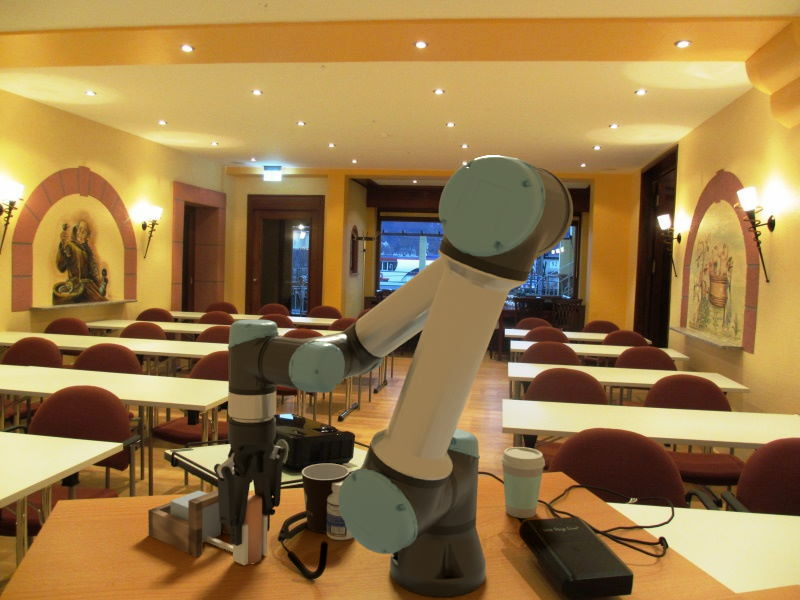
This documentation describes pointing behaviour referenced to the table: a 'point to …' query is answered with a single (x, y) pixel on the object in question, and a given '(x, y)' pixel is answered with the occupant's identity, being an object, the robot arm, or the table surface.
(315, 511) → the coffee mug
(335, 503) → the pill bottle
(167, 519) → the wooden frame
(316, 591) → the table surface
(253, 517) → the lopsided dumbbell
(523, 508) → the coffee cup
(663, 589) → the table surface
